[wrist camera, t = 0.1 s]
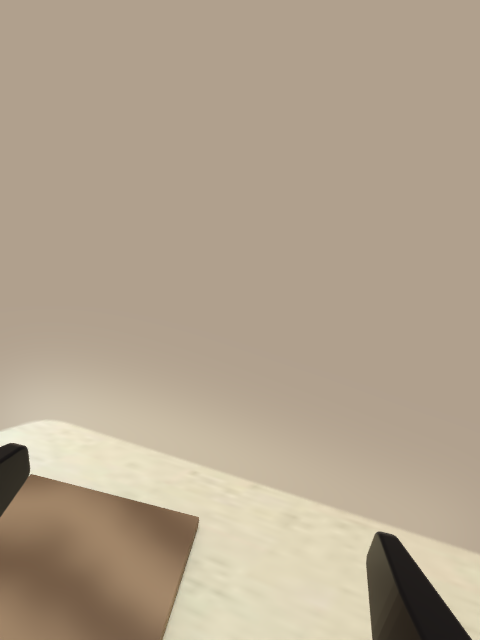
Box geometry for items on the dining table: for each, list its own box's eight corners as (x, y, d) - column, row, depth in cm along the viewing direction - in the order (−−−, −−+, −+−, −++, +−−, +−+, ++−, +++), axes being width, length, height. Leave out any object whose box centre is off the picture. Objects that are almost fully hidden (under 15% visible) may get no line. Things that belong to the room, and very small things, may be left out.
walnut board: (86, 877, 12) (86, 868, 12) (-226, 750, 14) (-235, 738, 13) (198, 526, 25) (199, 517, 25) (32, 483, 27) (31, 474, 26)
